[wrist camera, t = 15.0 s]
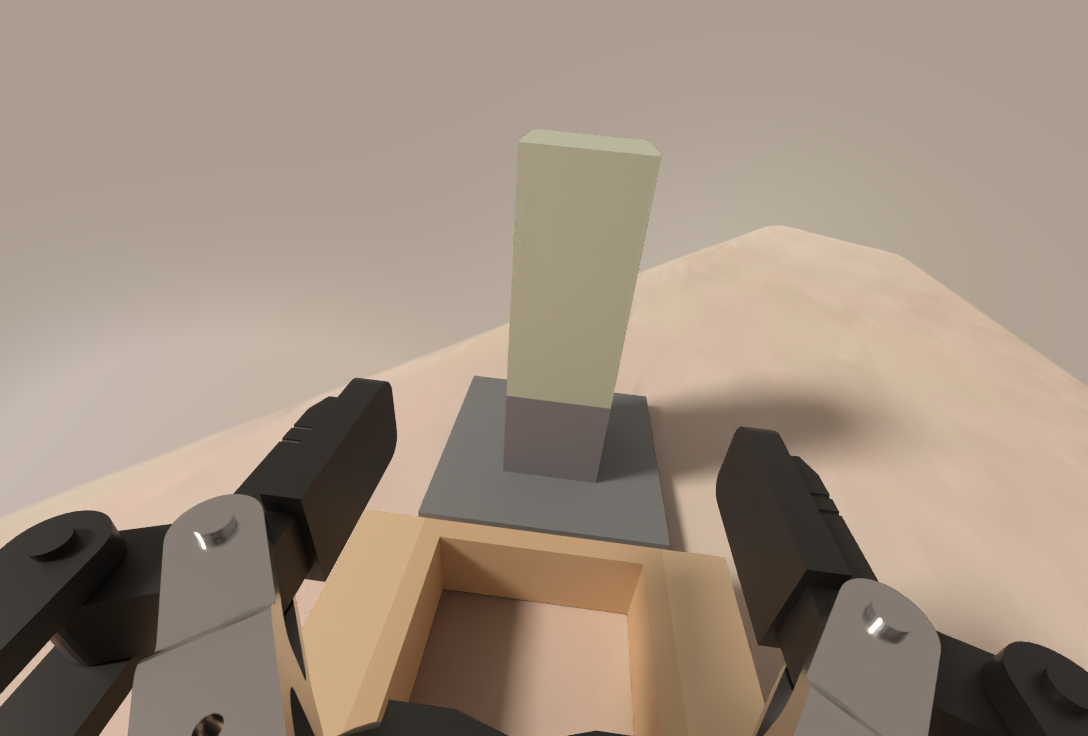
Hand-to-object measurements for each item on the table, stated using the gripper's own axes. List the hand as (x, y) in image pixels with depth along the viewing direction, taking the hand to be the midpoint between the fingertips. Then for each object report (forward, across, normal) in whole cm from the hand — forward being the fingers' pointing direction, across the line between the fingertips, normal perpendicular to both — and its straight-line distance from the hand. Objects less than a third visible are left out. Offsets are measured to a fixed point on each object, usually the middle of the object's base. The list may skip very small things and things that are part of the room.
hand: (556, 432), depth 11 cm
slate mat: (+12, 0, +12) cm, 17 cm away
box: (+12, 0, +11) cm, 16 cm away
